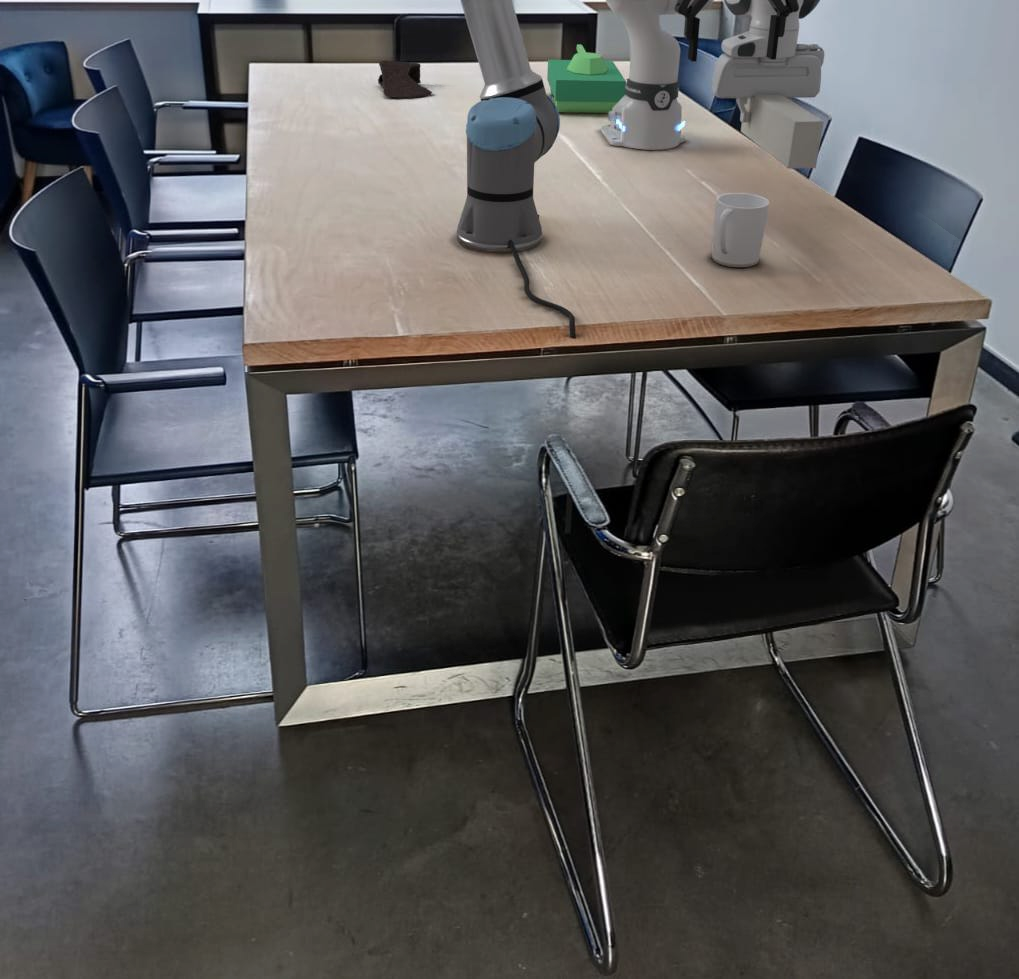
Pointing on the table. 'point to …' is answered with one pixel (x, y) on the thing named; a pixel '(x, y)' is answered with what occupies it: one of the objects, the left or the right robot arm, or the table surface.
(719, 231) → the mug
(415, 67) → the axe head
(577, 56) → the toy tank
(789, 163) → the bar
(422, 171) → the table surface
